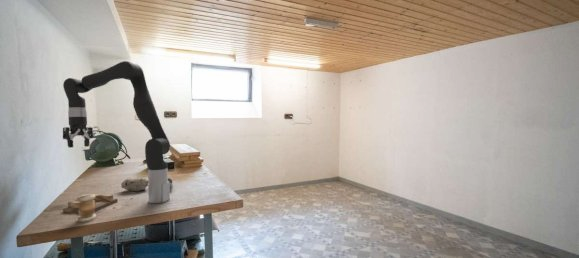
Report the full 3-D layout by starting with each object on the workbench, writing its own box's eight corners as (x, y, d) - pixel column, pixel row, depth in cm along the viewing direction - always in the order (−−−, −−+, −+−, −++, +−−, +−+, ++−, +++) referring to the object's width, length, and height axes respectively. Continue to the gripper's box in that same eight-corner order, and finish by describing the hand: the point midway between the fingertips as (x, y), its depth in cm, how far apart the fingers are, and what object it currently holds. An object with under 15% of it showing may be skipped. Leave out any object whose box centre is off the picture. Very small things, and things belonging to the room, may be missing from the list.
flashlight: (163, 186, 163) (163, 177, 163) (172, 185, 166) (172, 177, 165) (162, 192, 149) (162, 183, 149) (172, 191, 152) (172, 182, 152)
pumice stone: (121, 194, 144) (120, 179, 144) (121, 193, 153) (120, 179, 154) (149, 189, 151) (148, 176, 152) (148, 188, 161) (147, 176, 162)
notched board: (117, 201, 133) (117, 194, 132) (90, 213, 117) (90, 204, 116) (92, 200, 134) (92, 193, 134) (62, 211, 118) (62, 203, 118)
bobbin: (99, 216, 113) (99, 194, 113) (87, 222, 107) (86, 198, 106) (86, 215, 114) (86, 193, 113) (73, 221, 108) (73, 198, 107)
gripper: (69, 115, 128) (71, 147, 128) (96, 116, 142) (97, 145, 142) (57, 116, 129) (59, 148, 129) (84, 117, 143) (86, 146, 143)
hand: (79, 146), depth 136 cm, fingers open, 8 cm apart
